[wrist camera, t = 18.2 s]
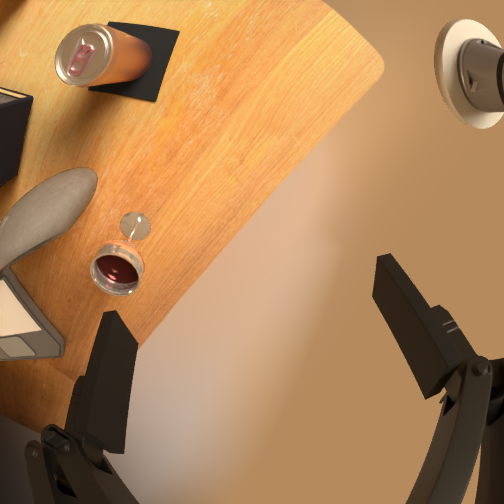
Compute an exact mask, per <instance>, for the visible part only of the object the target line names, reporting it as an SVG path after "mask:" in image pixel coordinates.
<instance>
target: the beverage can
mask: <svg viewBox="0 0 504 504" xmlns="http://www.w3.org/2000/svg"><path fill="white" fill-rule="evenodd" d="M151 61H152V52H151V49H150V47H149V45H148V44H147V43H146V42H145V41H143V40H141V39H138V38H136V37H134V36H131V35H129V34H127V33H124V32H122V31H119V30H117V29H114V28H111V27H109V26H106V25H103V24H86V25H82V26H79V27H77V28H75V29H74V30H72V31H71V32H70V33H68V34H67V35H66V36H65V38H64V39H63V40H62V41H61V43H60V45H59V47H58V49H57V52H56V55H55V69H56V72H57V75H58V76H59V78H60V79H61V80H62V81H63V82H64V83H66V84H68V85H71V86H75V87H89V86H96V85H102V84H110V83H118V82H127V81H133V80H135V79H138V78H139V77H141V76H142V75H143V74H144V73H145V72H146V71H147V70H148V68H149V67H150V64H151Z"/></svg>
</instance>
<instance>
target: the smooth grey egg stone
mask: <svg viewBox="0 0 504 504" xmlns="http://www.w3.org/2000/svg"><path fill="white" fill-rule="evenodd" d="M97 181H98V177H97V173H96V172H95V171H94V170H92V169H90V168H85V167H80V168H73V169H69V170H66V171H63V172H61V173H58V174H56V175H54V176H52V177H50V178H48V179H46V180H45V181H43V182H41V183H40V184H38V185H37V186H35V187H34V188H33V189H31V190H30V191H29V192H28V193H26V194H25V195H24V196H23V197H22V198H21V199H20V200H19V201H18V202H17V203H16V204H15V205H14V206H13V207H12V208H11V209H10V210H9V211H8V213H7V214H6V215H5V217H4V218H3V219H2V221H1V223H0V272H1V271H2V270H4V269H6V268H8V267H10V266H11V265H13V264H15V263H17V262H18V261H20V260H22V259H23V258H25V257H27V256H28V255H30V254H32V253H33V252H35V251H37V250H38V249H40V248H42V247H43V246H45V245H47V244H48V243H50V242H52V241H53V240H55V239H56V238H58V237H60V236H61V235H63V234H64V233H66V232H67V231H68V230H69V229H70V228H71V227H72V226H73V224H74V223H75V222H76V220H77V219H78V218H79V216H80V215H81V214H82V212H83V211H84V210H85V208H86V207H87V205H88V204H89V202H90V200H91V199H92V197H93V195H94V192H95V190H96V187H97Z"/></svg>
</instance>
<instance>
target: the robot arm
mask: <svg viewBox="0 0 504 504" xmlns="http://www.w3.org/2000/svg"><path fill="white" fill-rule="evenodd" d="M457 72H458V78H459V82H460V86H461V89H462V91H463V93H464V95H465V97H466V99H467V100H468V102H469V103H470V104H471V105H472V106H473V107H475V108H476V109H478V110H481V111H483V112H487V113H494V112H504V49H502V48H500V47H498V46H497V45H495V44H493V43H491V42H489V41H487V40H484V39H480V38H470V39H468V40H466V41H465V42H464V43H463V44H462V46H461V48H460V50H459V53H458V59H457ZM372 297H373V299H374V301H375V303H376V304H377V306H378V308H379V310H380V312H381V313H382V315H383V317H384V319H385V321H386V322H387V324H388V326H389V328H390V329H391V331H392V333H393V335H394V337H395V339H396V341H397V343H398V345H399V347H400V349H401V351H402V353H403V354H404V356H405V358H406V360H407V362H408V364H409V366H410V368H411V370H412V372H413V374H414V377H415V379H416V381H417V382H418V385H419V387H420V389H421V391H422V393H423V395H424V398H425V400H426V399H428V398H430V397H432V396H434V395H436V394H438V393H440V392H441V390H442V389H443V388H444V387H445V389H446V391H447V392H446V393H445V395H444V396H443V397H442V398H441V400H440V402H439V403H442V402H443V401H444V402H443V406H442V409H441V413H440V417H439V420H438V423H437V426H436V430H435V433H434V436H433V439H432V442H431V445H430V448H429V450H428V453H427V456H426V458H425V461H424V464H423V466H422V469H421V471H420V473H419V476H418V478H417V480H416V483H415V485H414V487H413V489H412V491H411V494H410V496H409V498H408V500H407V502H406V504H461V502H462V500H463V497H464V495H465V492H466V490H467V486H468V484H469V481H470V478H471V475H472V472H473V469H474V466H475V463H476V459H477V456H478V451H479V448H480V444H481V457H480V470H479V478H478V486H477V493H476V499H475V504H504V358H501V359H495V360H488V359H487V358H485V357H483V356H478V355H477V354H476V353H475V351H474V350H473V348H472V347H471V345H470V343H469V342H468V341H467V339H466V337H465V336H464V335H463V333H462V331H461V330H460V329H459V328H458V325H457V324H456V322H454V319H453V318H452V316H451V315H450V313H449V312H448V311H447V310H445V309H444V308H443V307H441V306H440V305H437V306H435V307H432V308H430V306H429V305H428V303H427V302H426V301H425V299H424V298H423V296H422V295H421V293H420V292H419V291H418V289H417V288H416V286H415V285H414V284H413V283H412V281H411V280H410V278H409V277H408V276H407V274H406V273H405V272H404V270H403V269H402V268H401V266H400V265H399V264H398V262H397V261H396V260H395V259H394V257H393V256H392V255H391V253H389V254H385V255H381V256H377V263H376V272H375V280H374V288H373V295H372ZM137 349H138V342H137V341H136V340H135V338H134V337H133V335H132V334H131V332H130V331H129V329H128V328H127V327H126V325H125V324H124V322H123V321H122V319H121V318H120V316H119V314H118V313H117V311H116V310H114V311H108V312H104V313H103V316H102V319H101V322H100V325H99V328H98V331H97V335H96V338H95V341H94V345H93V348H92V352H91V355H90V359H89V363H88V366H87V370H86V374H85V376H79V378H78V379H77V381H76V383H75V384H74V388H73V392H72V396H71V401H70V402H71V403H70V405H69V409H68V414H67V419H66V424H65V429H64V430H63V429H61V428H60V427H58V426H57V425H55V424H50V425H48V426H46V427H45V428H44V429H43V431H42V434H41V443H40V442H38V441H36V440H31V441H30V442H28V444H27V445H26V447H25V460H26V466H27V472H28V477H29V482H30V486H31V490H32V495H33V499H34V502H35V504H139V503H138V501H137V500H136V499H135V497H134V496H133V495H132V494H131V492H130V491H129V490H128V488H127V487H126V486H125V484H124V483H123V481H122V480H121V479H120V477H119V476H118V474H117V473H116V471H115V470H114V468H113V467H112V465H111V464H110V463H109V461H108V459H107V458H106V457H105V455H104V454H103V449H104V450H106V451H108V452H109V453H116V454H124V449H125V437H126V427H127V417H128V409H129V401H130V393H131V386H132V379H133V373H134V366H135V361H136V354H137ZM54 476H55V478H56V481H55V478H54Z"/></svg>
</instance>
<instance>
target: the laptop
mask: <svg viewBox="0 0 504 504" xmlns="http://www.w3.org/2000/svg"><path fill="white" fill-rule="evenodd" d="M64 351H65V341H64V339H63V337H62V336H61V335H60V334H59V333H58V331H57V330H56V329H55V328H54V327H53V325H52V324H51V323H50V322H49V321H48V319H47V318H46V317H45V316H44V314H43V313H42V312H41V311H40V309H39V308H38V307H37V305H36V304H35V303H34V302H33V300H32V299H31V298H30V296H29V295H28V293H27V292H26V291H25V289H24V288H23V286H22V285H21V284H20V282H19V281H18V279H17V278H16V276H15V275H14V273H13V272H12V270H11V269H10V267H8V268H6V269H4V270H2V271H1V272H0V361H9V360H30V359H45V358H58V357H63V354H64Z"/></svg>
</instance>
